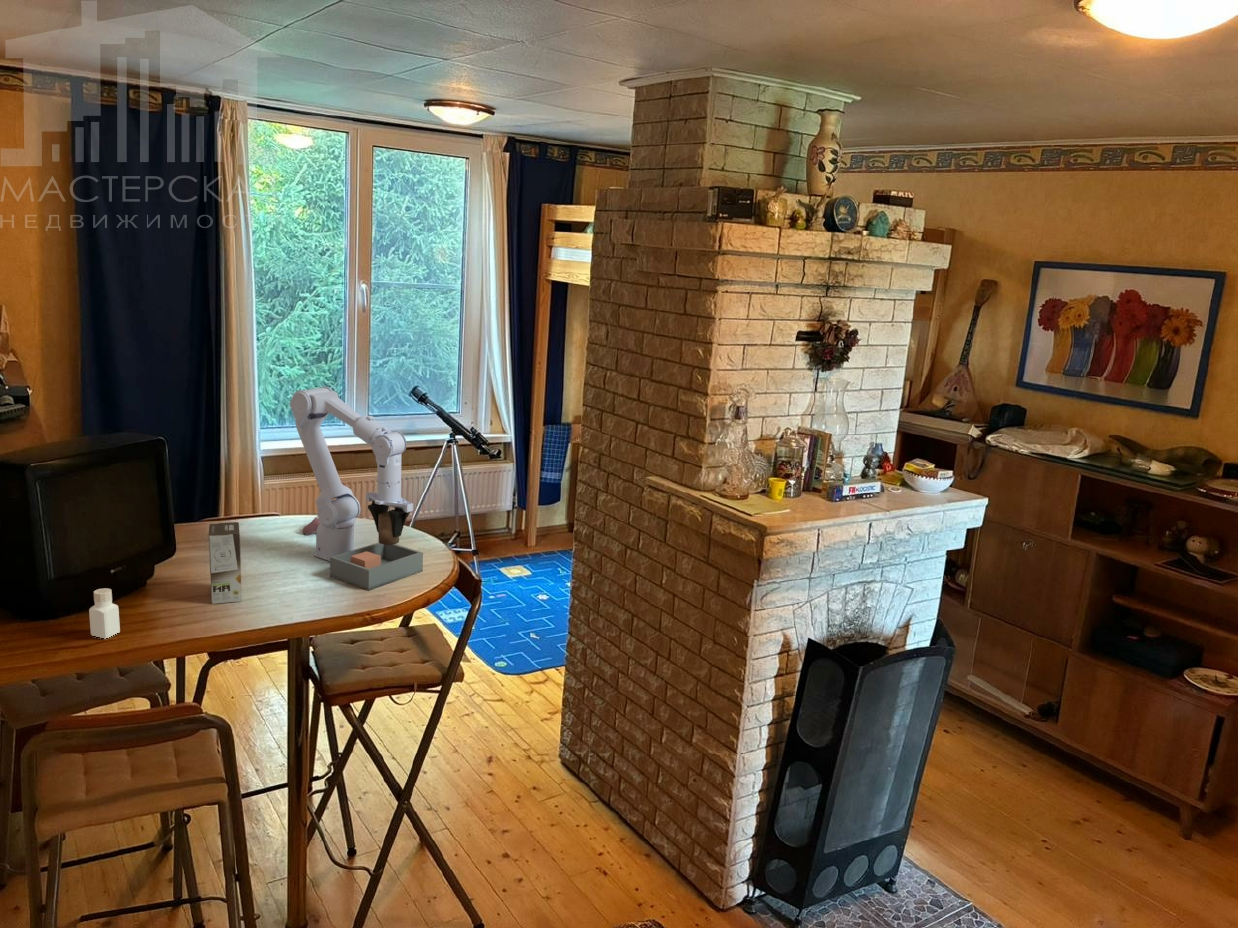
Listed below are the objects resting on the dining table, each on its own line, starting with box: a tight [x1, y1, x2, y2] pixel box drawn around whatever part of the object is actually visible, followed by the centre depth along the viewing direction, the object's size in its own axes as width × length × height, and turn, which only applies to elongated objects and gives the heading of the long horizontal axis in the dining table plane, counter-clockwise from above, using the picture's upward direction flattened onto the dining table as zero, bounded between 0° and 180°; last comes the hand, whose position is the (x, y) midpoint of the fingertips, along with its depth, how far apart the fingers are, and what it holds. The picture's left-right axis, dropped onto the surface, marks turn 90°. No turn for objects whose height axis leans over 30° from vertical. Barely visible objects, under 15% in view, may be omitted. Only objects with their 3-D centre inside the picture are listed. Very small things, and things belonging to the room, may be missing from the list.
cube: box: [351, 551, 381, 569], centre depth 227 cm, size 5×5×5 cm
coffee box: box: [208, 521, 242, 605], centre depth 210 cm, size 9×6×16 cm
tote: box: [329, 542, 424, 591], centre depth 230 cm, size 14×18×5 cm
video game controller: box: [302, 515, 321, 536], centre depth 259 cm, size 10×5×7 cm, turn 170°
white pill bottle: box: [88, 587, 121, 640], centre depth 187 cm, size 4×4×10 cm
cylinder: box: [377, 512, 400, 545], centre depth 231 cm, size 5×5×7 cm
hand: (389, 533), depth 232 cm, fingers closed on cylinder, 5 cm apart
